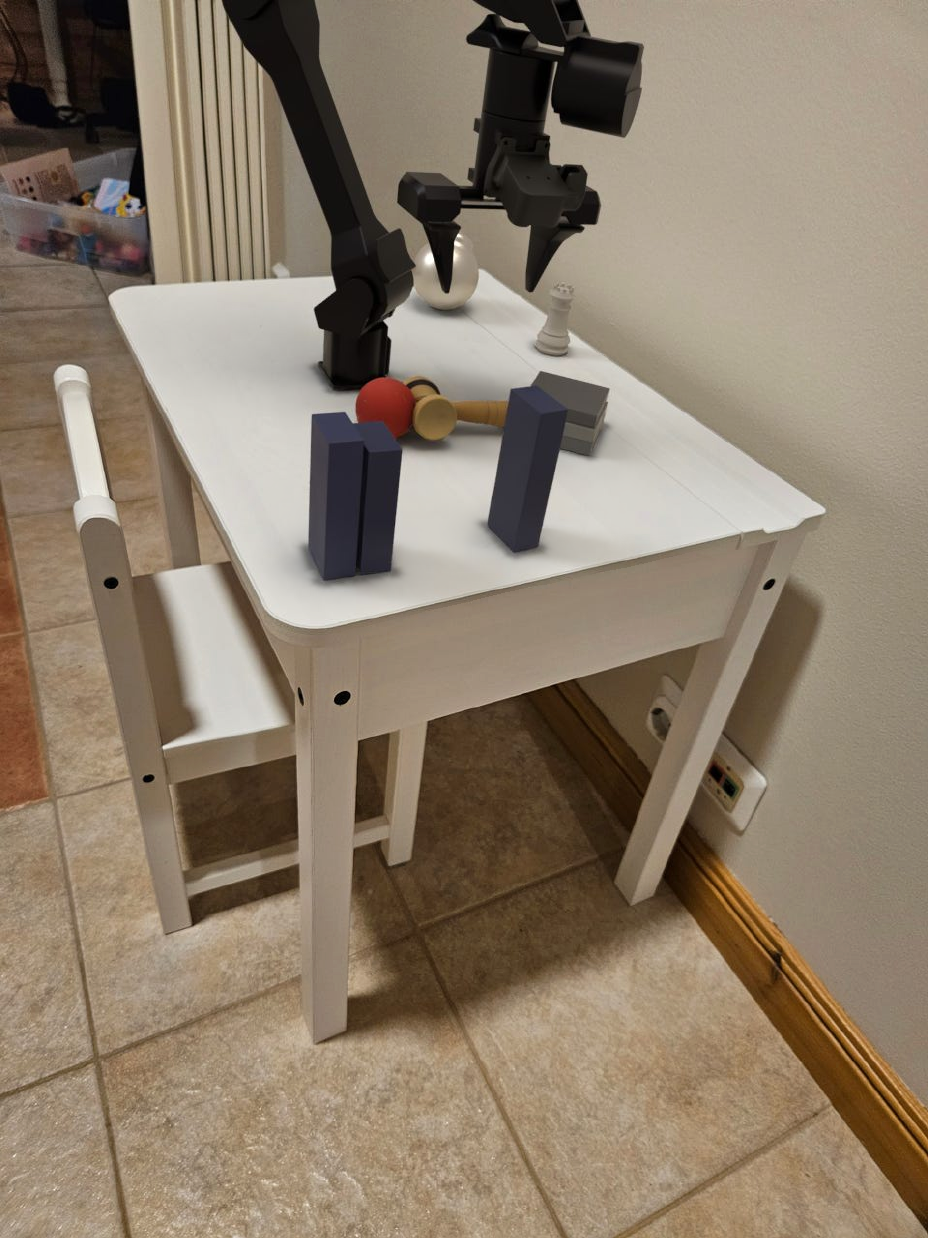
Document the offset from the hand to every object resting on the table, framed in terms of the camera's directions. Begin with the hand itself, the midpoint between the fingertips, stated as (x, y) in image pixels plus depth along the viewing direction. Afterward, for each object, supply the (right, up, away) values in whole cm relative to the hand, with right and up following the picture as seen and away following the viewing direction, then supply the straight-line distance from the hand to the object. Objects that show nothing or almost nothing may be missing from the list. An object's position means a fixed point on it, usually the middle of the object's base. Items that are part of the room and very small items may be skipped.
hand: (487, 291), depth 87 cm
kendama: (-5, -13, +4) cm, 15 cm away
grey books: (+8, -12, +7) cm, 16 cm away
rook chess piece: (+9, +2, +25) cm, 27 cm away
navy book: (+2, -25, -10) cm, 27 cm away
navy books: (-12, -28, -16) cm, 34 cm away
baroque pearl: (-5, +10, +32) cm, 34 cm away
